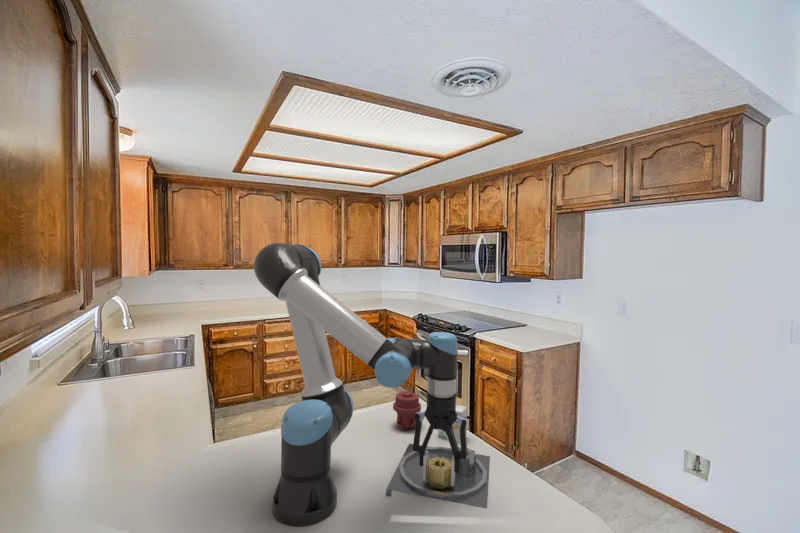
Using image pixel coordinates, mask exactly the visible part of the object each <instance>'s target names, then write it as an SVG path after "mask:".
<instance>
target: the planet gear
mask: <svg viewBox="0 0 800 533" xmlns="http://www.w3.org/2000/svg"><path fill="white" fill-rule="evenodd" d="M438 465H440V466H442V467H437V466H438ZM426 482H428V483H429V484H430V485H431V487H437V488H440V489H444V487H447V486H449V487H450V486H451V462H449V461H448V460H447V459H446V458H438V457H435V458H433V459H428V464H427V465H426Z"/></svg>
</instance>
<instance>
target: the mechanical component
mask: <svg viewBox="0 0 800 533" xmlns="http://www.w3.org/2000/svg"><path fill="white" fill-rule="evenodd" d="M392 409H393V411H395V412H396V415H397V416H396V424H397V426H399V430H400V431H406V430H409V429H413V430H414V429H415V427H416V421H415V414H416V412H417V411H420V412H421V410H422V404H421V403H420V396H419V394H417V393H416V392H412V391H409V390H405V391H401V392H398V393H397V394H396V395H395V401H394V402H393V403H392Z"/></svg>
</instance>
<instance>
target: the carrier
mask: <svg viewBox="0 0 800 533" xmlns="http://www.w3.org/2000/svg"><path fill="white" fill-rule="evenodd" d="M421 446H422V444H421ZM404 451H405V452H404V453H403V455H402V457H401V458H400V461H399V463H398V465H397V467H396V469H395V471H394V473H393V475H392V477H391V479H390V481H389V482H388V485H387V487H386V490H385V496H390V497H392V491H394V492H400V493H404V494H410V495H414V496H418V497H419V496H420V497H423V498H424V497H425V498H430V499H434V500H440V501H445V502H451V503H456V504H457V503H458V504H463V505H467V506H471V507H478V508H483V509H488V500H489V499H488V496H489V479H490V478H489V477H490V467H491V466H490V462H491V456H489V455H485V454H479V453H478V454H477V453H475V455H476V472H473V473H472V474H471V475H459V473H457V472H455V482H454V486H450V487H449V486H447V487H444V489H440V488H437V487H431V485H430V484H429V483H428V482H426V481H423V466H420V464H419V460H420V454H419V453H418V452H417V451H413V443H408V445H407V448H405V450H404ZM425 451H428V459H433V458H435V457H438V458H446V459H447V460H448V461H449V462H451V460H452V449H451V447H450V448H449V447H444V446H428V445H427V447H426V450H425ZM437 467H442V466H440V465H438V466H437Z"/></svg>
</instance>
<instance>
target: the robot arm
mask: <svg viewBox="0 0 800 533" xmlns="http://www.w3.org/2000/svg"><path fill="white" fill-rule="evenodd" d="M253 270H254V274H255V277H256V278H257V280H258V282H259V283H260V284H261V286H263V287H264V288H265V290H267V291H268V292H269V293H270V294H272V296H274V297H275V298H277V299H278V300H279V301H282V302H283V301H284V302H285V304H286V308H287V313H288V317H289V321H290V327H291V331H292V335H293V340H294V344H295V348H296V353H297V357H298V360H299V365H300V370H301V374H302V378H303V382H304V387H303V389H302V391H301V392H300V396H301V402H295V403H293V404H292V405H291V406H289V407H288V408H287V409H286V410H285V411H284V413H283V416H282V419H281V420H282V422H281V423H282V424H281V425H280V426H281V427H280V434H281V440H280V441H281V443H280V444H281V446H280V448H281V453H280V454H281V455H280V461H281V462H280V477H279V479H278V482H277V485H276V489H275V491H274V493H273V497H272V509H271V510H272V514H273V516H274V518H275V519H276V520H277V521H279V522H280V523H283V524H284V525H288V526H308V525H312V524H316V523H318V522H321V521H324V519H326V518H328V517H329V516H330V515H331V514H332V513H333V512H334V510H335V509H336V506H337V503H338V492H337V491H338V490H337V487H336V484H335V480H334V477H333V473H332V471H331V467H332V466H331V463H332V462H331V461H332V459H331V457H332V445H333V444H334V443H335V441H336V439H337V438H338V437H339V436H340V435H341V433H342V432H343V431H344V430H345V429H347V426H348V425H349V424H350V422H351V419H352V417H353V414H354V401H353V397H352V396H351V394H350V392H349V391H347V390H346V389H345V386H344V382H343V381H342V380H341V379H339V378H338V377H337V376H336V373H335V368H334V364H333V360H332V354H331V351H330V348H329V342H328V338H327V337H328V336H327V334H329V336H331V337H332V338H334V339H335V340H336V341H337V342H338V343H340V344H341V345H342V346H344V347H345V348H346V349H347V350H348V351H350V352H351V353H352V354H353V355H354V356H355V357H357V358H358V359H360V361H362V362H364V363H365V365H367V366H368V367H370V368H371V369H372V370H373V371H374V376H375V378H376V380H377V382H378V383H379V384H381V385H382V386H383V387H385V388H388V389H390V388H391V389H395V388H398V387H400V386H401V385H402V384H404V383H405V382H406V381H407V380H408V378H409V377H410V376H411V373H412V370H414V369H415V370H417V369H418V370H427V378H426V379H427V381H426V382H427V383H426V384H427V385H426V391H427V393H426V409H425V411H421V410H420V411H417V412H416V414H415V421H416V427H415V428H414V429H415V430H414V435H413V443H412V444H413V451H417V452H418V453H419V454H420V460H419V464H420V466H423V481H426V465H427V464H428V451H425V450H426V447H427V446H428V445H429V441H430V439H431V436H432V434H433V432H434V430H438V429H441V430H445V431H446V434H447V436H448V439H449V440H448V441H449V446H450V448H451V449H452V452H453V456H452V460H451V486H454V482H455V472H458V471H459V468H460V459H466V456H467V448H468V446H467V432H466V428H465V427H466V423H468V417H467V418H466V417H463V418H462V417H460V416H457V413H456V405H457V404H456V402H457V395H456V393H457V370H458V338H457V336H456V335H455V334H453V333H450V332H448V331H447V332H444V331H440V332H439V331H433V332H431V333H429V335H428V338H427V339H414V338H401V337H386V336H385V335H383V334H382V333H381V332H380V331H379V330H377V329H376V328H375V327H374V326H372V325H370V324H369V323H368V322H367V321H366V320H364V319H363V318H362V317H361V316H360V315H358V314H357V313H355V312H354V311H353V310H352V309H350V308H349V307H348V306H347V305H345V304H344V303H343V302H341V301H340V300H339V299H337V297H335V296H334V295H332V294H331V293H330V292H329V291H327V289H325V288H323V287H322V286H321V282H320V278H319V276H320V274H321V272H322V263H321V259H320V257H319V255H318V254H317V252H316V251H315V250H314V249H312V248H310V247H308V246H306V245H303V244H299V243H298V244H297V243H294V244H293V243H292V244H290V243H284V242H275V243H270V244H267V245H265V246H264V247H262V248H261V249H260V250H259V251H258V253H257V254H256V256H255V259H254V263H253ZM326 333H327V334H326ZM425 418H426V420H427V421H428V423H429V427H428V430H427V432H426V435H425V437H424V439H423V442H422V444H421V443H420V441H421V434H422V428H423V427H422V425H423V421H424V419H425ZM455 421H457V422H458V426H460V441H461V443H460V447H461V452H459V448H458V447H459V446H458V445H459V444H458V443H457V442H456V439H455V435H454V432H453V427H452V425H453V423H454V422H455ZM420 444H421V445H422V446H421V445H420Z"/></svg>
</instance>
